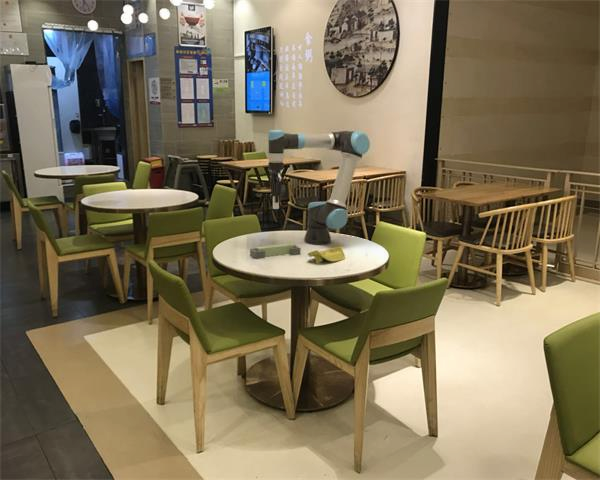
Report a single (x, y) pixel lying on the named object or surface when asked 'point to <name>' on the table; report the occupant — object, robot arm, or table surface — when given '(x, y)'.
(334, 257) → the plastic component
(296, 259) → the table surface
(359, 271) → the table surface
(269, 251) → the slat
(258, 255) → the end caps
